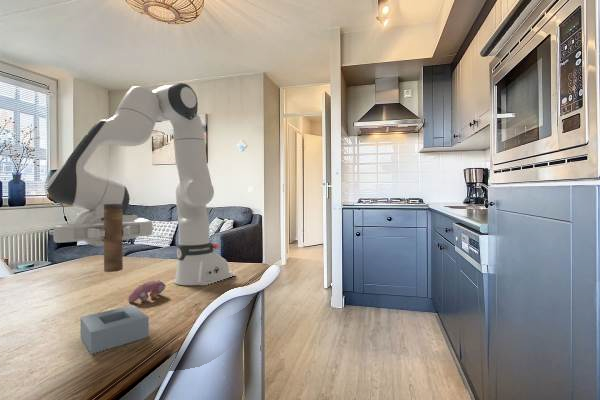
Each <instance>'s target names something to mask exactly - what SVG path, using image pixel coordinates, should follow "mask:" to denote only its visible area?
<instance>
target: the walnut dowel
mask: <svg viewBox="0 0 600 400" xmlns="http://www.w3.org/2000/svg"><path fill="white" fill-rule="evenodd" d="M104 230H105V237H104V246H103V272H105V273H112V272H119V271H123V269H124V268H123V267H124V265H123V258H124V257H123V254H124V252H123V251H124V250H123V248H124V247H123V241H124V240H123V219H122V204H104Z"/></svg>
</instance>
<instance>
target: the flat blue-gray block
mask: <svg viewBox="0 0 600 400" xmlns="http://www.w3.org/2000/svg"><path fill="white" fill-rule="evenodd" d="M149 321H150V320H149V315H147V314H145V313H144V312H143V311H142V310H140V309H139V308H137V306H136V305H134V304H132V305H128V306H124V307H118V308H114V309H110V310H106V311H102V312H97V313H94V314H89V315H83V316H81V317H80V339H81V340H82V342H83V343H84V345H85V347H86V349H87V350H88V352H89V351H90V352H89V354H90V353H91V354H90V355H94V354H93V353H95V354H97V353H96V352H98V353H100V352H99V351H101V352H104V351H107V350H106V349H108V350H111V349H113V347H114V348H117V347H120V346H123V345H126V344H129V343H132V342H137V341H139V340H143V339H146V338H148V337H150V332H149V331H150V330H149V329H150V327H149V323H150V322H149ZM116 346H117V347H116ZM110 348H111V349H110ZM103 350H104V351H103Z"/></svg>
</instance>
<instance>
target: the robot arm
mask: <svg viewBox="0 0 600 400" xmlns="http://www.w3.org/2000/svg"><path fill="white" fill-rule="evenodd" d="M198 105H199V103H198V98H197V93H196V92H195V91H194V89H193V88H192V87H191V86H190V85H189V84H187V83H185V82H184V83H182V82H177V83H172V84H168V85H163V86H160V87H158V88H156V89H153V90H152V89H149V88H147V87H145V86H141V85H136V86H132V87H131V88H129V89H128V90H127V92H126V93H125V95H123V98H122V99H121V101H120V102H119V105H118V106H117V108H116V111H115V113H114V115H112V117H110V118H108V119H100V120H99V121H97V122H96V123H95V124H94V125H93V126H92V127H91V128H90V130H88V132H87V133H86V134H85V135H84V137H83V138H82V140H81V141H80V142H79V143H78V145H77V146H76V147H75V149H74V150H73V151H72V153H71V154H70V155H69V156H68V158H67V160H66V161H65V162H64V163H63V165H61V166H60V167H59V168H58V169H57V170H56V171H55V172H54V173H53V174H52V175H51V176H50V178H49V180H48V182H47V186H46V187H47V188H46V192H47V193H48V195H49V196H50V198H51V199H52V200H53V201H54V202H55V203H58V204H61V205H67V206H74V207H77V208H81V209H84V211H81V212H80V213H78V214H77V215H75V217H74V218H73V219H72V222H71V223H60V224H55V225H54V226H53V229H49V231H48V234H49V235H52V236H53V242H54V243H59V244H60V243H73V242H84V243H87V244H89V245H91V246H95V247H104V237H105V230H104V204H122V219H123V241H126V240H132V239H137V238H138V237H149V236H152V235H153V233H154V232H153V229H154V228H153V221H152V220H149V219H148V218H143V217H138V215H136V214H126V212H127V211H128V208H129V204H130V200H131V199H130V194H129V191H128V188H127V187H126V185H125V184H122V183H121V182H120V183H119V182H117V181H115V180H112V179H109V178H105V177H103V176H99V175H97V174H94V173H91V172H88V171H86V170H85V166H86V164H87V163H88V161H89V160H90V159H91V157H92V156H93V155H94V153H95V152H96V150H97V149H98V148H99V147H101V146H105V145H106V146H107V145H109V146H110V145H111V146H119V147H137V146H141V145H142V144H145V143H147V141H149V139H150V138H151V136H152V133H153V131H154V129H155V125H156V123H161V122H167V121H169V122H170V123H171V126H172V128H173V134H172V135H173V147H174V159H175V164H176V169H177V173H178V178H179V183H178V184H177V186H176V187H175V200H176V212H177V213H176V214H177V220H178V222H177V223H178V243H177V246H176V248H177V250H176V254H177V255H176V256H177V268H176V273H175V277H174V281H173V283H174V284H175V285H180V286H209V285H212V284H215V283H214V282H216V283H218V282H217V281H219V282H221V281H220V280H222V281H224V280H223V279H226V278H229V277H232V276H235V277H236V273H235V272H234V271H232V270H230V267H229V263H228V260H227V259H225V258H224V257H222V256H220V254H218V252H217V253H216V252H215V250H218V248H219V244H218V243H215V242H214V243H212V242H210V221H209V216H208V209H207V205H208V204H209V203H210V202H212V200H213V198H214V195H215V189H214V186H213V184H212V179H211V174H210V170H209V165H208V161H207V152H206V151H207V150H206V138H205V131H204V127H203V123H202V119H201V117H200V115H199V113H198ZM232 278H233V277H232ZM229 279H230V278H229ZM226 280H227V279H226ZM211 283H212V284H211ZM208 284H209V285H208Z"/></svg>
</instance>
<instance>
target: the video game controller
mask: <svg viewBox="0 0 600 400" xmlns="http://www.w3.org/2000/svg"><path fill="white" fill-rule="evenodd" d="M166 287H167V286H166V284H165V283H164V282H163V281H161V280H159V279H158V280H157V281H156V280H150V281H147V282H145V283H143V284H139V285H138V286H137V287H136V288H134V290H133V291H132V292H131V293H130V294H129V296H128V302H129V303H135V302H136V301H137V300H140V301H141V302H146V301H147V300H148V299H149V297H150V299H157V297H158V295H160V294H161V293H162V292H163V291H165V289H166Z"/></svg>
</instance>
